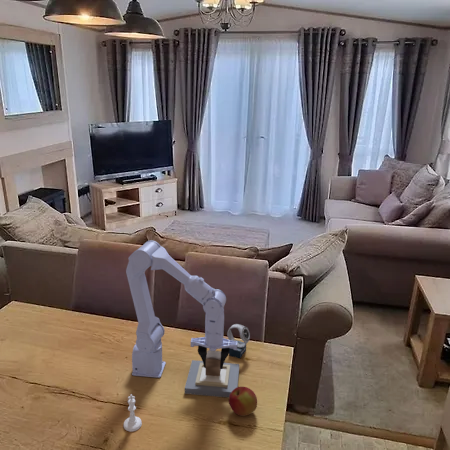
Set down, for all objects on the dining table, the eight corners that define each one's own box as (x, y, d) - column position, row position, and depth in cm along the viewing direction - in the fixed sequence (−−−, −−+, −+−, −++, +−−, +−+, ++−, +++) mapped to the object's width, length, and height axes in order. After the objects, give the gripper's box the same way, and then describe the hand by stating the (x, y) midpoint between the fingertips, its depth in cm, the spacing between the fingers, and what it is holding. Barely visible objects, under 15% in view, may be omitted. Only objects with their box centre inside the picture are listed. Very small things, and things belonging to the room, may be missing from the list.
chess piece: (124, 418, 117) (123, 389, 114) (142, 417, 118) (141, 388, 114) (122, 432, 112) (120, 401, 109) (140, 431, 113) (139, 401, 110)
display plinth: (184, 393, 127) (184, 386, 126) (192, 365, 141) (192, 358, 140) (236, 398, 126) (236, 390, 125) (239, 369, 139) (239, 362, 139)
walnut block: (205, 375, 130) (205, 358, 128) (207, 366, 135) (207, 350, 133) (219, 376, 130) (220, 360, 128) (221, 367, 134) (221, 351, 132)
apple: (236, 399, 126) (237, 377, 123) (260, 409, 122) (262, 387, 119) (223, 415, 119) (224, 392, 117) (248, 426, 116) (250, 403, 113)
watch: (245, 360, 144) (246, 332, 141) (224, 354, 147) (225, 326, 144) (251, 351, 149) (252, 325, 146) (230, 345, 152) (231, 319, 149)
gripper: (188, 334, 124) (188, 372, 128) (237, 338, 123) (235, 376, 127) (192, 322, 131) (192, 358, 135) (238, 325, 130) (236, 362, 134)
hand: (213, 366), depth 132 cm, fingers closed on walnut block, 4 cm apart
